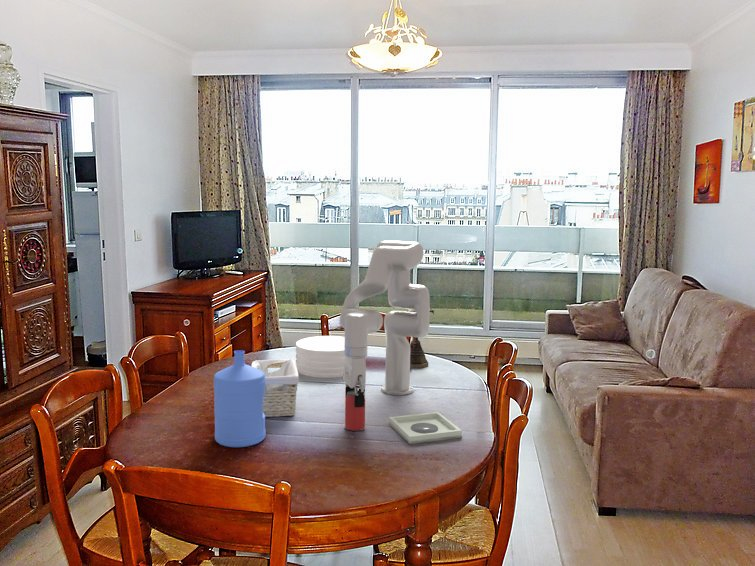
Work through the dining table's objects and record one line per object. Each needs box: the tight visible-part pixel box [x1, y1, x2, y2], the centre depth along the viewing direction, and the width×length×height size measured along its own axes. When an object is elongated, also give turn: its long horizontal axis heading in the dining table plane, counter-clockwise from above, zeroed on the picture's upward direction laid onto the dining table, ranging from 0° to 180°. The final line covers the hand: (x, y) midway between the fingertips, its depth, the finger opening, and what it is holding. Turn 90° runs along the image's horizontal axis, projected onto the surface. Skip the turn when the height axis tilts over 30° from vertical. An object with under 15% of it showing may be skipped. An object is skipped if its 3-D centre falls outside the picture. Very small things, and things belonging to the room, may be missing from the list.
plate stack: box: [295, 335, 345, 379], centre depth 282 cm, size 28×28×12 cm
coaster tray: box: [388, 411, 463, 445], centre depth 212 cm, size 18×18×2 cm
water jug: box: [213, 349, 267, 448], centre depth 201 cm, size 16×16×28 cm
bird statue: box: [407, 305, 435, 369], centre depth 286 cm, size 17×13×35 cm
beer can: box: [344, 390, 366, 432], centre depth 212 cm, size 7×7×12 cm
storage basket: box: [250, 358, 299, 418], centre depth 231 cm, size 24×16×15 cm
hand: (354, 402), depth 211 cm, fingers open, 9 cm apart
